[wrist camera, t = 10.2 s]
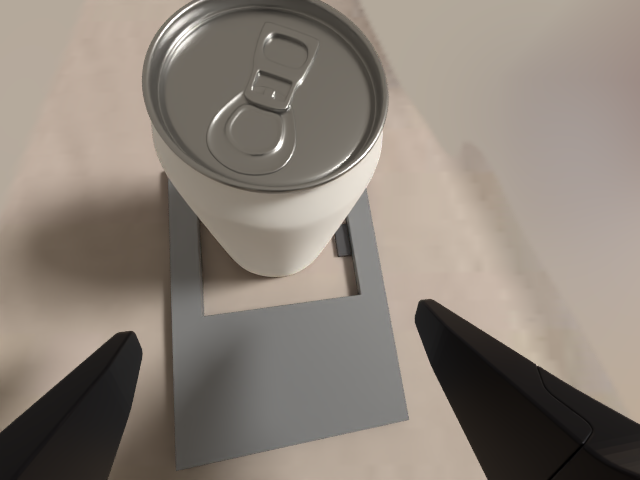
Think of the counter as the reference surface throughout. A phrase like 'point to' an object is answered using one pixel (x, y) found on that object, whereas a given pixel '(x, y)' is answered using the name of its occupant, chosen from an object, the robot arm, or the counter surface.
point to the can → (266, 122)
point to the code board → (279, 356)
